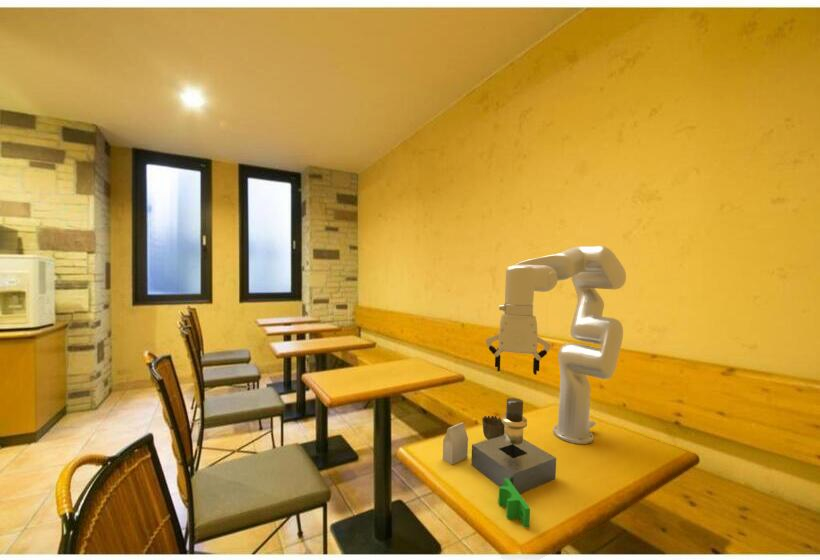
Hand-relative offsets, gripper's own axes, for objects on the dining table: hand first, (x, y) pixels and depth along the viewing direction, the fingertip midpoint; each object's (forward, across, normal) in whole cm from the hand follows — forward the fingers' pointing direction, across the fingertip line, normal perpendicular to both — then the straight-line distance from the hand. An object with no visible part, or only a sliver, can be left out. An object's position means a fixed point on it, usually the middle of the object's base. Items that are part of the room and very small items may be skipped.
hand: (516, 371), depth 99 cm
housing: (+28, 0, -1) cm, 28 cm away
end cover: (+19, 0, -1) cm, 19 cm away
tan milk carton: (+28, -16, +1) cm, 33 cm away
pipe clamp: (+29, -1, -17) cm, 33 cm away
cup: (+29, -6, +13) cm, 32 cm away
